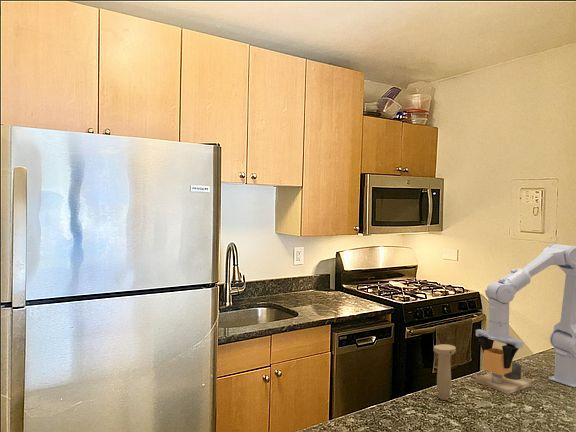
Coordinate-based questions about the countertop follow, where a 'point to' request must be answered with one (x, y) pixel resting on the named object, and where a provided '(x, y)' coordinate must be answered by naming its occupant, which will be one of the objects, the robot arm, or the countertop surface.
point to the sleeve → (495, 361)
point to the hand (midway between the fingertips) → (497, 364)
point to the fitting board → (506, 380)
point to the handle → (444, 369)
